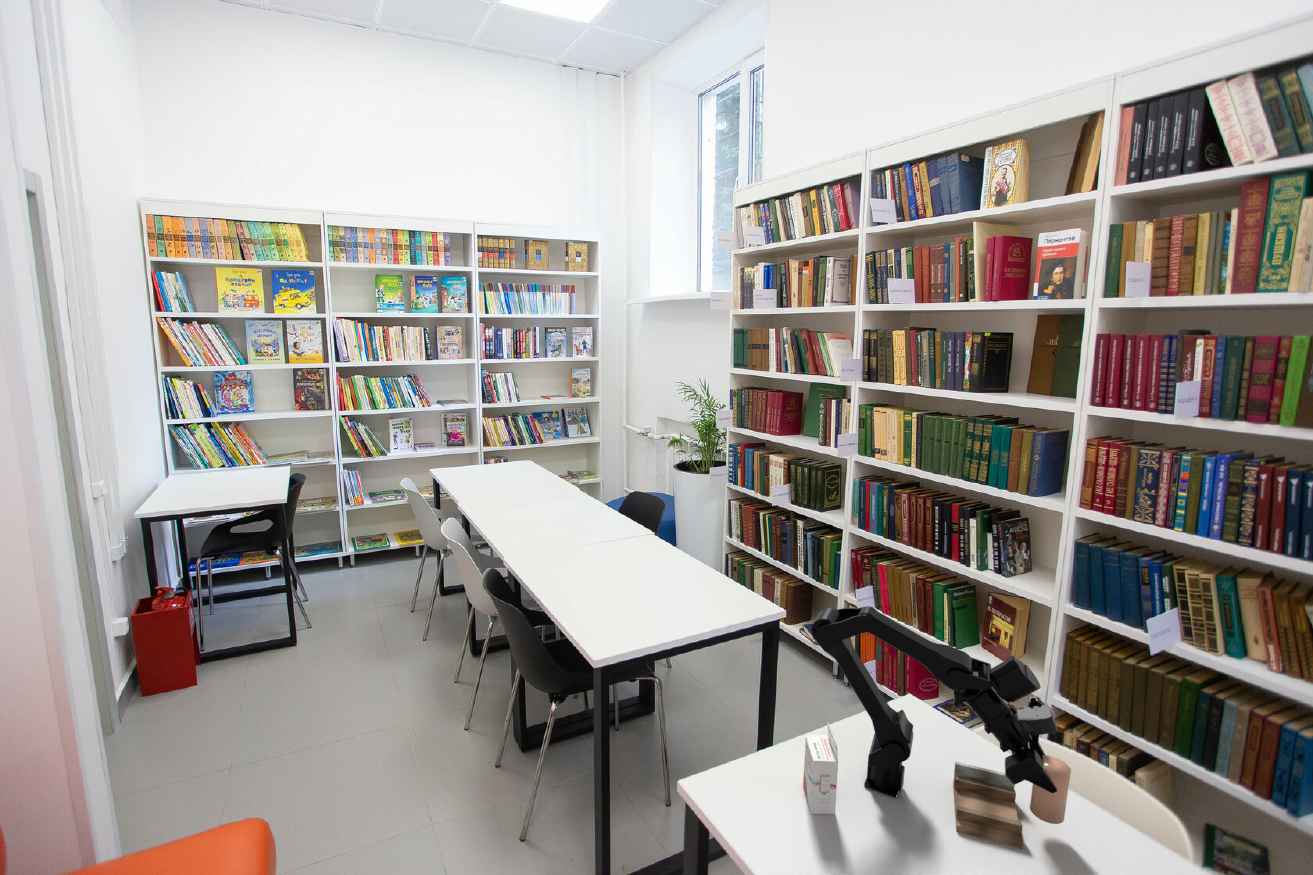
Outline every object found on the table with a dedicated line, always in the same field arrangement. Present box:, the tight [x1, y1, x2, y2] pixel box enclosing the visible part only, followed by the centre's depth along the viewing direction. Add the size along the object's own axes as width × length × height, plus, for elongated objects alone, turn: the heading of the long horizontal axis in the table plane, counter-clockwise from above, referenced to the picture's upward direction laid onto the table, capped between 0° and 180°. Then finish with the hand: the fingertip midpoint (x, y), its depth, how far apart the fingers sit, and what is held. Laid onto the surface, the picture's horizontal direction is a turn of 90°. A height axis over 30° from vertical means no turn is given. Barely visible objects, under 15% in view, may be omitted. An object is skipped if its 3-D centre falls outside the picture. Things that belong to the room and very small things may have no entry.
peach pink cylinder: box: [1029, 754, 1072, 825], centre depth 122 cm, size 6×6×10 cm
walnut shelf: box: [952, 761, 1024, 850], centre depth 127 cm, size 11×14×5 cm
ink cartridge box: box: [802, 722, 839, 815], centre depth 130 cm, size 9×5×15 cm, turn 179°
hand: (1053, 781), depth 121 cm, fingers closed on peach pink cylinder, 6 cm apart
